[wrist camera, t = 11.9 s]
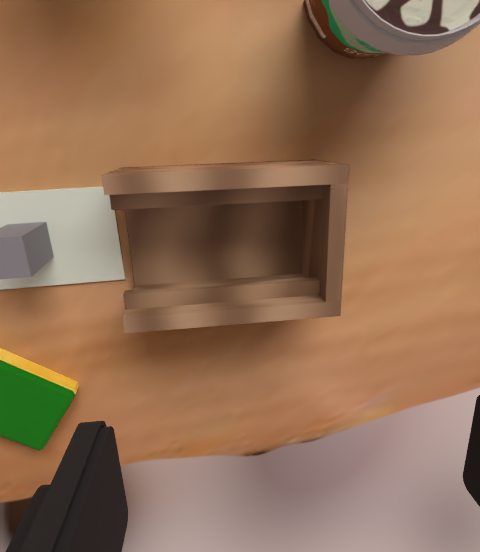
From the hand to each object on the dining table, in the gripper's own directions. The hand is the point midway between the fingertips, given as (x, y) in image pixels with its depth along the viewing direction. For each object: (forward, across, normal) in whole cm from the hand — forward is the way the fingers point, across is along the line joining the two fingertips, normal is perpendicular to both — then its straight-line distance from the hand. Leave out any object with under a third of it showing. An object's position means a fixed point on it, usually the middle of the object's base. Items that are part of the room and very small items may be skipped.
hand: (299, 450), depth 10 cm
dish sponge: (+26, +23, +12) cm, 37 cm away
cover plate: (+26, +17, 0) cm, 31 cm away
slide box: (+26, +1, 0) cm, 26 cm away
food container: (+26, -11, -15) cm, 32 cm away
